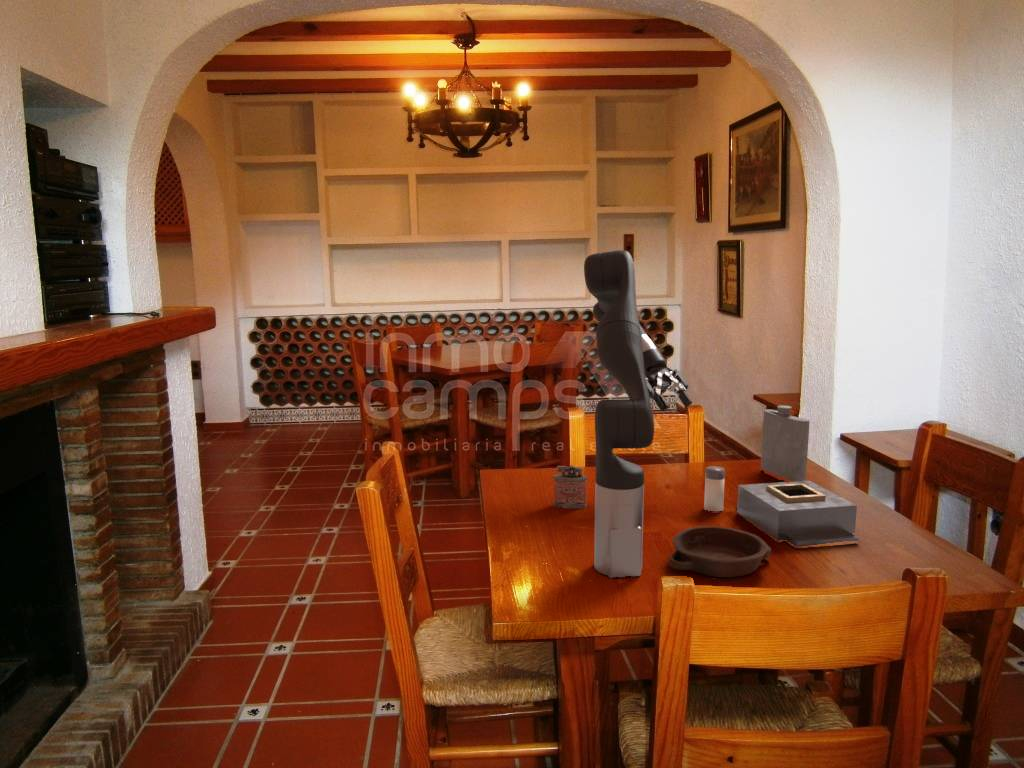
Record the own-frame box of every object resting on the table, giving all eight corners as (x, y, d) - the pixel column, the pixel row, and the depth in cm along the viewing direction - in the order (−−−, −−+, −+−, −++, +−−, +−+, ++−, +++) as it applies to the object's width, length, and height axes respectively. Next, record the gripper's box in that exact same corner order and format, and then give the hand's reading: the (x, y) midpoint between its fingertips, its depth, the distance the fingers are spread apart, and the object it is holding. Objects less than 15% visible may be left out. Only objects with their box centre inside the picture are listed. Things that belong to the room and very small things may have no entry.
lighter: (586, 503, 180) (587, 464, 179) (586, 508, 177) (587, 468, 175) (553, 503, 181) (554, 463, 179) (553, 507, 178) (553, 467, 176)
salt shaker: (726, 511, 174) (728, 470, 172) (708, 512, 173) (710, 472, 172) (718, 505, 178) (719, 465, 177) (701, 506, 178) (702, 466, 176)
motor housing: (866, 543, 154) (869, 507, 153) (787, 549, 151) (789, 512, 150) (798, 503, 180) (800, 471, 178) (729, 508, 177) (730, 475, 175)
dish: (646, 556, 149) (647, 532, 148) (738, 542, 156) (739, 519, 155) (695, 592, 133) (696, 566, 132) (795, 574, 140) (796, 550, 139)
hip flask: (808, 485, 194) (813, 411, 190) (795, 487, 192) (800, 412, 189) (767, 469, 208) (771, 400, 205) (755, 471, 207) (759, 401, 204)
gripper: (632, 349, 182) (667, 402, 175) (671, 344, 190) (705, 395, 183) (617, 368, 187) (649, 420, 180) (655, 362, 195) (688, 412, 188)
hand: (677, 407), depth 181 cm, fingers open, 8 cm apart
